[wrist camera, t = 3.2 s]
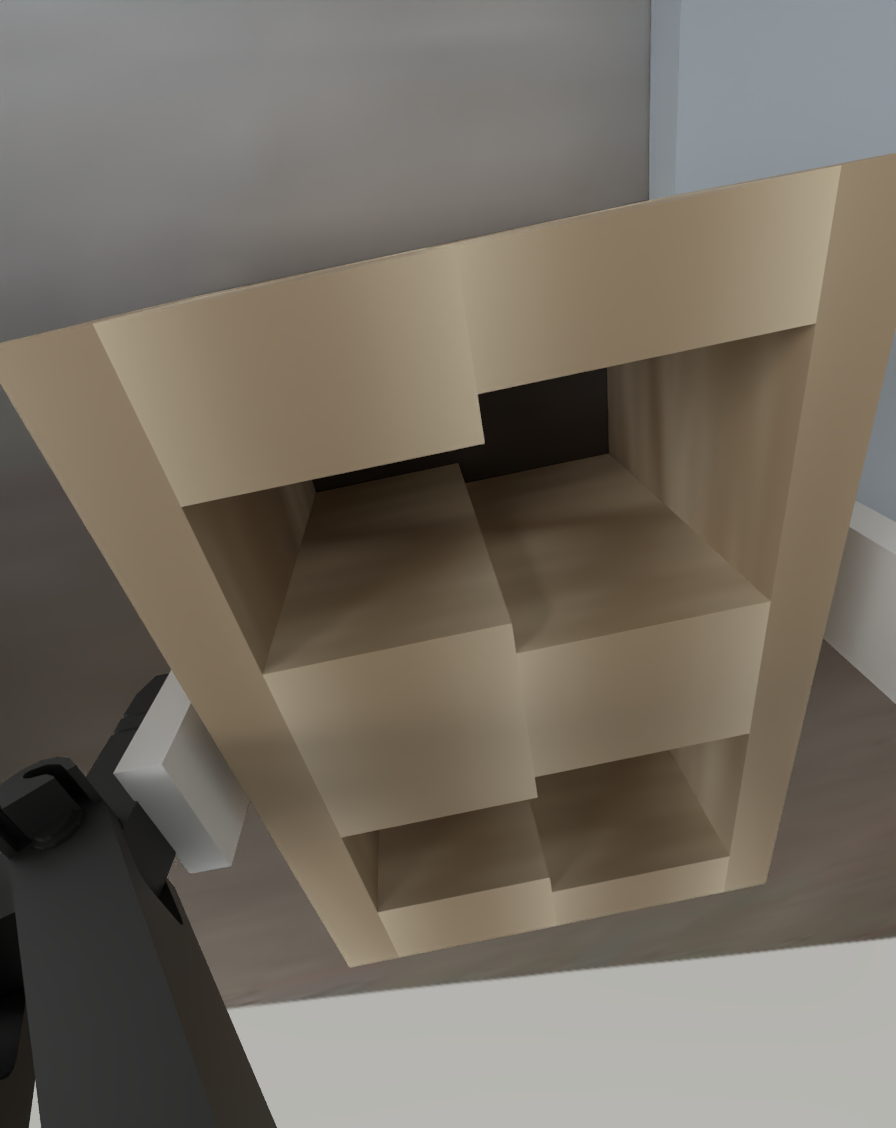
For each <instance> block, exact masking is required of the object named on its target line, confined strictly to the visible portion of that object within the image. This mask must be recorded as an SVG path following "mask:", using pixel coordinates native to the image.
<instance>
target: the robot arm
mask: <svg viewBox="0 0 896 1128" xmlns="http://www.w3.org/2000/svg"><path fill="white" fill-rule="evenodd" d="M823 639H824V640H825V641H827V642H828V643H829V644H830V645H831V646H832V647H833V648H834V649H835V650H837V651H838V652H839V653H840V654H841V655H842V656H843V657H844V658H845V659H846V660H848V661H849V662H850V663H851V664H852V665H853V666H854V667H855V668H856V669H858V670H859V671H860V672H861V673H862V674H863V675H864V676H865V677H866V678H867V679H869V680H870V681H871V682H872V683H873V684H874V685H875V686H876V687H877V688H878V689H880V690H881V691H882V692H883V693H884V694H885V695H886V696H887V697H888V698H890V699H891V700H892V701H893V702H894V703H895V704H896V522H895V521H893V520H891V519H889V518H887V517H885V516H884V515H882V514H880V513H878V512H876V511H874V510H872V509H871V508H869V507H867V506H865V505H863V504H861V503H859V502H858V501H856V500H855V504H854V508H853V513H852V517H851V521H850V525H849V530H848V534H847V538H846V542H845V547H844V551H843V555H842V560H841V564H840V568H839V572H838V577H837V581H836V585H835V589H834V594H833V598H832V602H831V606H830V611H829V615H828V619H827V624H826V628H825V632H824V636H823ZM249 802H250V800H249V799H248V797H247V795H246V794H245V792H244V790H243V789H242V787H241V785H240V784H239V782H238V780H237V778H236V777H235V775H234V773H233V772H232V770H231V768H230V767H229V765H228V763H227V762H226V760H225V758H224V757H223V755H222V753H221V752H220V750H219V748H218V747H217V745H216V743H215V742H214V740H213V738H212V737H211V735H210V733H209V732H208V730H207V728H206V727H205V725H204V723H203V722H202V720H201V718H200V717H199V715H198V713H197V712H196V710H195V708H194V707H193V705H192V703H191V702H190V700H189V698H188V697H187V695H186V693H185V692H184V690H183V688H182V687H181V685H180V683H179V682H178V680H177V678H176V677H175V675H174V673H173V672H172V670H171V671H170V673H169V674H164V675H159V676H156V677H154V678H153V679H152V680H151V681H150V682H149V683H148V684H147V685H146V686H145V687H144V688H143V689H142V690H141V691H140V692H139V693H138V694H137V695H136V696H135V698H134V699H133V701H132V703H131V704H130V706H129V708H128V709H127V711H126V712H125V714H124V719H121V721H120V722H119V724H118V726H117V727H116V729H115V730H114V735H112V736H111V737H110V739H109V740H108V742H107V744H106V745H105V747H104V748H103V750H102V752H101V753H100V755H99V757H98V758H97V760H96V762H95V763H94V765H93V766H92V768H91V770H90V771H89V773H88V775H87V776H86V777H85V776H84V775H83V773H82V772H81V771H80V770H79V769H78V767H77V766H76V765H75V764H74V763H73V762H72V761H71V759H70V758H62V757H55V758H51V759H47V760H43V761H40V762H38V763H35V764H33V765H31V766H29V767H27V768H25V769H23V770H21V771H20V772H18V773H17V774H15V775H14V776H12V777H11V778H9V779H8V780H6V781H5V782H4V783H3V784H2V785H1V786H0V851H1V852H2V853H0V1128H29V1121H30V1114H31V1106H32V1099H33V1092H34V1084H35V1080H36V1088H37V1096H38V1104H39V1113H40V1121H41V1128H277V1127H276V1124H275V1122H274V1120H273V1117H272V1115H271V1113H270V1110H269V1108H268V1106H267V1103H266V1101H265V1099H264V1096H263V1094H262V1092H261V1089H260V1087H259V1085H258V1082H257V1080H256V1077H255V1075H254V1073H253V1070H252V1068H251V1066H250V1063H249V1061H248V1059H247V1056H246V1054H245V1052H244V1050H243V1047H242V1045H241V1042H240V1040H239V1038H238V1035H237V1033H236V1031H235V1028H234V1026H233V1024H232V1021H231V1019H230V1016H229V1014H228V1012H227V1009H226V1007H225V1005H224V1002H223V1000H222V998H221V995H220V993H219V990H218V988H217V986H216V983H215V981H214V979H213V976H212V974H211V972H210V969H209V967H208V965H207V962H206V960H205V958H204V955H203V953H202V951H201V948H200V946H199V943H198V941H197V939H196V936H195V934H194V932H193V929H192V927H191V925H190V922H189V920H188V918H187V915H186V913H185V911H184V908H183V906H182V904H181V901H180V899H179V896H178V894H177V892H176V889H175V887H174V886H173V885H172V884H171V883H170V881H169V880H168V879H167V875H168V873H169V870H170V868H171V865H172V862H173V860H174V857H175V855H176V857H177V858H178V859H179V860H180V862H181V863H182V864H183V866H184V867H185V868H186V870H187V871H188V872H189V874H191V873H196V872H202V871H208V870H213V869H219V868H224V867H230V866H231V865H232V862H233V858H234V855H235V851H236V848H237V844H238V841H239V837H240V834H241V830H242V827H243V823H244V820H245V816H246V812H247V809H248V805H249Z"/></svg>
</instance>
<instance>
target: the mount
mask: <svg viewBox="0 0 896 1128" xmlns="http://www.w3.org/2000/svg"><path fill="white" fill-rule="evenodd" d="M892 153H896V0H651V58H650V144H649V200H653V199H658V198H663V197H668V196H674V195H679V194H684V193H689V192H694V191H699V190H705V189H710V188H715V187H720V186H725V185H731V184H736V183H741V182H746V181H751V180H757V179H762V178H767V177H772V176H777V175H783V174H788V173H793V172H798V171H803V170H809V169H814V168H819V167H824V166H829V165H835V164H840V163H845V162H850V161H855V160H861V159H866V158H871V157H876V156H881V155H887V154H892ZM856 501H858V502H859V503H861V504H863V505H865V506H867V507H869V508H871V509H872V510H874V511H876V512H878V513H880V514H882V515H884V516H885V517H887V518H889V519H891V520H893V521H895V522H896V329H895V333H894V338H893V342H892V346H891V350H890V355H889V359H888V363H887V367H886V372H885V376H884V380H883V385H882V389H881V393H880V397H879V402H878V406H877V410H876V414H875V419H874V423H873V427H872V431H871V436H870V440H869V444H868V449H867V453H866V457H865V461H864V466H863V470H862V474H861V478H860V483H859V487H858V491H857V496H856Z"/></svg>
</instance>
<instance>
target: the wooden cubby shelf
mask: <svg viewBox="0 0 896 1128" xmlns="http://www.w3.org/2000/svg"><path fill="white" fill-rule="evenodd" d="M895 329H896V153H892V154H887V155H881V156H876V157H871V158H866V159H861V160H855V161H850V162H845V163H840V164H835V165H829V166H824V167H819V168H814V169H809V170H803V171H798V172H793V173H788V174H783V175H777V176H772V177H767V178H762V179H757V180H751V181H746V182H741V183H736V184H731V185H725V186H720V187H715V188H710V189H705V190H699V191H694V192H689V193H684V194H679V195H674V196H668V197H663V198H658V199H653V200H648V201H643V202H638V203H633V204H629V205H624V206H619V207H615V208H610V209H605V210H600V211H596V212H591V213H586V214H582V215H577V216H572V217H567V218H563V219H558V220H553V221H549V222H544V223H539V224H534V225H530V226H525V227H520V228H516V229H511V230H506V231H501V232H497V233H492V234H487V235H483V236H478V237H473V238H468V239H464V240H459V241H454V242H449V243H445V244H440V245H435V246H431V247H426V248H421V249H416V250H412V251H407V252H402V253H398V254H393V255H388V256H383V257H379V258H374V259H369V260H365V261H360V262H355V263H350V264H346V265H341V266H336V267H332V268H327V269H322V270H317V271H313V272H308V273H303V274H299V275H294V276H289V277H284V278H280V279H275V280H270V281H265V282H261V283H256V284H251V285H247V286H242V287H237V288H232V289H228V290H223V291H218V292H214V293H209V294H204V295H199V296H195V297H190V298H186V299H182V300H178V301H173V302H169V303H165V304H161V305H157V306H152V307H148V308H144V309H140V310H136V311H131V312H127V313H123V314H119V315H115V316H110V317H106V318H102V319H98V320H94V321H89V322H85V323H81V324H77V325H73V326H68V327H64V328H60V329H56V330H52V331H47V332H43V333H39V334H35V335H31V336H26V337H22V338H18V339H14V340H10V341H5V342H1V343H0V384H1V386H2V388H3V389H4V391H5V393H6V394H7V396H8V398H9V399H10V401H11V403H12V404H13V406H14V408H15V409H16V411H17V413H18V414H19V416H20V418H21V419H22V421H23V423H24V424H25V426H26V428H27V429H28V431H29V433H30V434H31V436H32V438H33V439H34V441H35V443H36V444H37V446H38V448H39V449H40V451H41V453H42V454H43V456H44V458H45V459H46V461H47V463H48V464H49V466H50V468H51V469H52V471H53V473H54V474H55V476H56V478H57V479H58V481H59V483H60V484H61V486H62V488H63V490H64V491H65V493H66V495H67V496H68V498H69V500H70V501H71V503H72V505H73V506H74V508H75V510H76V511H77V513H78V515H79V516H80V518H81V520H82V521H83V523H84V525H85V526H86V528H87V530H88V531H89V533H90V535H91V536H92V538H93V540H94V541H95V543H96V545H97V546H98V548H99V550H100V551H101V553H102V555H103V556H104V558H105V560H106V561H107V563H108V565H109V566H110V568H111V570H112V571H113V573H114V575H115V576H116V578H117V580H118V581H119V583H120V585H121V586H122V588H123V590H124V591H125V593H126V595H127V596H128V598H129V600H130V601H131V603H132V605H133V606H134V608H135V610H136V611H137V613H138V615H139V616H140V618H141V620H142V621H143V623H144V625H145V626H146V628H147V630H148V631H149V633H150V635H151V637H152V638H153V640H154V642H155V643H156V645H157V647H158V648H159V650H160V652H161V653H162V655H163V657H164V658H165V660H166V662H167V663H168V665H169V667H170V668H171V670H172V672H173V673H174V675H175V677H176V678H177V680H178V682H179V683H180V685H181V687H182V688H183V690H184V692H185V693H186V695H187V697H188V698H189V700H190V702H191V703H192V705H193V707H194V708H195V710H196V712H197V713H198V715H199V717H200V718H201V720H202V722H203V723H204V725H205V727H206V728H207V730H208V732H209V733H210V735H211V737H212V738H213V740H214V742H215V743H216V745H217V747H218V748H219V750H220V752H221V753H222V755H223V757H224V758H225V760H226V762H227V763H228V765H229V767H230V768H231V770H232V772H233V773H234V775H235V777H236V778H237V780H238V782H239V784H240V785H241V787H242V789H243V790H244V792H245V794H246V795H247V797H248V799H249V800H250V802H251V804H252V805H253V807H254V809H255V810H256V812H257V814H258V815H259V817H260V819H261V820H262V822H263V824H264V825H265V827H266V829H267V830H268V832H269V834H270V835H271V837H272V839H273V840H274V842H275V844H276V845H277V847H278V849H279V850H280V852H281V854H282V855H283V857H284V859H285V860H286V862H287V864H288V865H289V867H290V869H291V870H292V872H293V874H294V875H295V877H296V879H297V880H298V882H299V884H300V885H301V887H302V889H303V890H304V892H305V894H306V895H307V897H308V899H309V900H310V902H311V904H312V905H313V907H314V909H315V910H316V912H317V914H318V915H319V917H320V919H321V920H322V922H323V924H324V925H325V927H326V929H327V930H328V932H329V934H330V936H331V937H332V939H333V941H334V942H335V944H336V946H337V947H338V949H339V951H340V952H341V954H342V956H343V957H344V959H345V961H346V962H347V964H348V966H349V967H355V966H360V965H365V964H370V963H375V962H380V961H385V960H390V959H395V958H400V957H404V956H409V955H414V954H419V953H424V952H429V951H434V950H439V949H444V948H449V947H454V946H459V945H464V944H469V943H474V942H479V941H484V940H489V939H494V938H499V937H504V936H508V935H513V934H518V933H523V932H528V931H533V930H538V929H543V928H548V927H553V926H558V925H563V924H568V923H573V922H578V921H583V920H588V919H593V918H598V917H603V916H608V915H613V914H617V913H622V912H627V911H632V910H637V909H642V908H647V907H652V906H657V905H662V904H667V903H672V902H677V901H682V900H687V899H692V898H697V897H702V896H707V895H712V894H717V893H721V892H726V891H731V890H736V889H741V888H746V887H751V886H756V885H761V884H766V880H767V875H768V871H769V867H770V862H771V858H772V854H773V850H774V845H775V841H776V837H777V833H778V828H779V824H780V820H781V816H782V811H783V807H784V803H785V798H786V794H787V790H788V786H789V781H790V777H791V773H792V769H793V764H794V760H795V756H796V752H797V747H798V743H799V739H800V734H801V730H802V726H803V722H804V717H805V713H806V709H807V705H808V700H809V696H810V692H811V688H812V683H813V679H814V675H815V670H816V666H817V662H818V658H819V653H820V649H821V645H822V641H823V636H824V632H825V628H826V624H827V619H828V615H829V611H830V606H831V602H832V598H833V594H834V589H835V585H836V581H837V577H838V572H839V568H840V564H841V560H842V555H843V551H844V547H845V542H846V538H847V534H848V530H849V525H850V521H851V517H852V513H853V508H854V504H855V500H856V496H857V491H858V487H859V483H860V478H861V474H862V470H863V466H864V461H865V457H866V453H867V449H868V444H869V440H870V436H871V431H872V427H873V423H874V419H875V414H876V410H877V406H878V402H879V397H880V393H881V389H882V385H883V380H884V376H885V372H886V367H887V363H888V359H889V355H890V350H891V346H892V342H893V338H894V333H895ZM605 367H607V392H608V431H609V454H604V455H599V456H594V457H590V458H585V459H580V460H575V461H570V462H566V463H561V464H556V465H551V466H547V467H542V468H537V469H532V470H527V471H523V472H518V473H513V474H508V475H503V476H499V477H494V478H489V479H484V480H479V481H475V482H470V483H465V482H464V479H463V476H462V473H461V470H460V467H459V464H458V463H456V464H451V465H446V466H442V467H437V468H432V469H427V470H423V471H418V472H413V473H408V474H403V475H399V476H394V477H389V478H384V479H379V480H375V481H370V482H365V483H360V484H355V485H351V486H346V487H341V488H336V489H332V490H327V491H322V492H317V493H316V491H315V488H314V486H313V483H312V480H313V479H318V478H323V477H327V476H332V475H337V474H342V473H346V472H351V471H356V470H361V469H366V468H370V467H375V466H380V465H385V464H390V463H394V462H399V461H404V460H409V459H413V458H418V457H423V456H428V455H433V454H437V453H442V452H447V451H452V450H456V449H461V448H466V447H471V446H476V445H480V444H485V441H484V434H483V428H482V421H481V414H480V408H479V401H478V394H481V393H486V392H491V391H496V390H500V389H505V388H510V387H515V386H519V385H524V384H529V383H534V382H539V381H543V380H548V379H553V378H558V377H562V376H567V375H572V374H577V373H581V372H586V371H591V370H596V369H601V368H605Z"/></svg>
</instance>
